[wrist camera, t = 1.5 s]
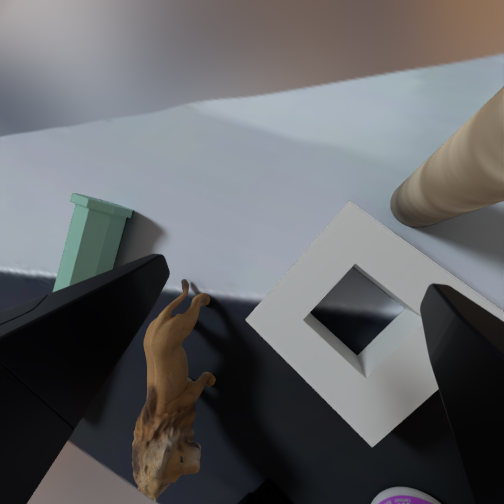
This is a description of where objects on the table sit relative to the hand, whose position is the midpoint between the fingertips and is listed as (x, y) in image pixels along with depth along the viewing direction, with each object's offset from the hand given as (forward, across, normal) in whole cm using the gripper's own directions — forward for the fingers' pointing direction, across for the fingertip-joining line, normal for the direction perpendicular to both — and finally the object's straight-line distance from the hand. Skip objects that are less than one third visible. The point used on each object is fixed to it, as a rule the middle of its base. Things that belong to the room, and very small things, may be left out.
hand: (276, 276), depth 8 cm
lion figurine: (+6, +9, +16) cm, 20 cm away
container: (+8, +24, +14) cm, 29 cm away
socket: (+10, -5, +10) cm, 15 cm away
